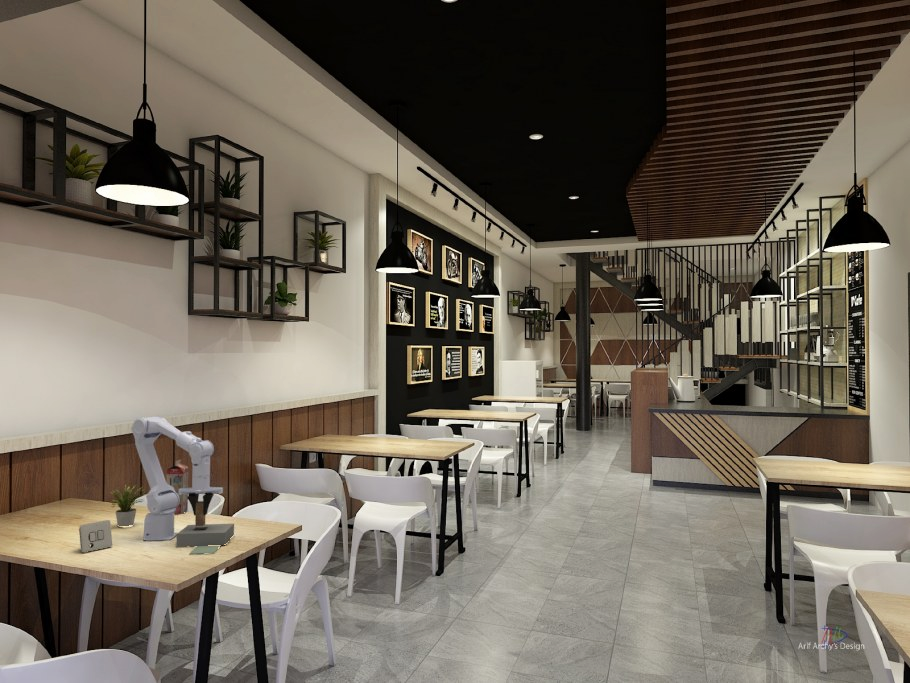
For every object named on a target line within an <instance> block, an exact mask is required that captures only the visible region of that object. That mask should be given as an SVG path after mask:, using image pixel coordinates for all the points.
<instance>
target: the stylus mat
mask: <svg viewBox="0 0 910 683" xmlns="http://www.w3.org/2000/svg"><path fill="white" fill-rule="evenodd" d="M218 547H219V546H197V547H193V549H192V550H191V551H190V552H189V553H188V555H189V554H197V555H205V554H204V553H215V552H216V551H217V550H218ZM218 551H219V550H218ZM218 551H217V552H218ZM217 552H216V553H217ZM216 553H215V554H216Z"/></svg>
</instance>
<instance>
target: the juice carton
mask: <svg viewBox="0 0 910 683" xmlns="http://www.w3.org/2000/svg"><path fill="white" fill-rule="evenodd" d="M166 483H167V484H168V485H170V486H172V487H174V490H175V492H176V493H177V494H178V496H179V498H180V502H179V505H178V507H177V508H176V511H174V514H183V515H185V513H187V512H188V510H189V509H188V507H189V506H188V504H189V500H188V498H187V497H188V495H189V494H182V495H179V489H180V488H189V466H188V465H185V464H183V463H182V460H181V459H179V460H176V461H175V462H174V466H171V467H169V468H168V469H166ZM184 512H185V513H184Z"/></svg>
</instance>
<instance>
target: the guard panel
mask: <svg viewBox="0 0 910 683" xmlns="http://www.w3.org/2000/svg"><path fill="white" fill-rule="evenodd" d="M176 533H177V535H176V543H175V544H176V546H175V547H176V548H188V547H187V546H208V545H224V544H226V543H227V542H228V541H229V540H230V538H231V537H232V536H233V535H234V536H235V523H211V524H207V523H205V525H203V526H195V524H188V525H186V526H185V527H183V529H181V530H180V531H179V532H176ZM230 541H231V540H230ZM230 541H229V542H230ZM229 542H228V543H229ZM228 543H227V544H228ZM227 544H226V545H227Z"/></svg>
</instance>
